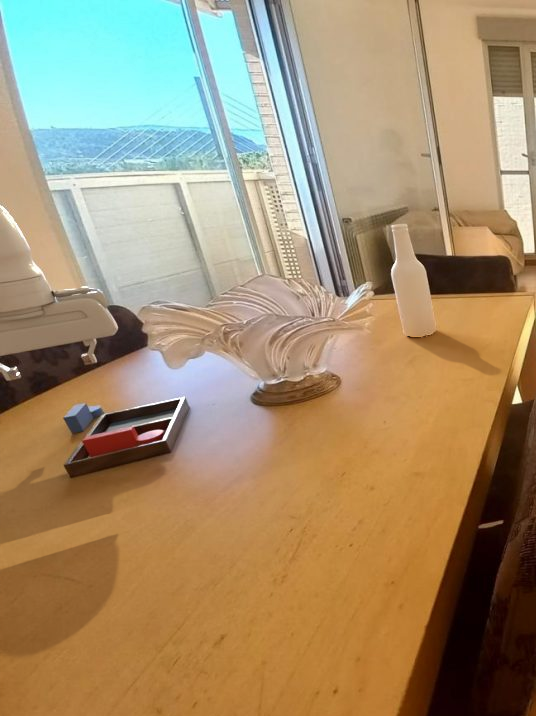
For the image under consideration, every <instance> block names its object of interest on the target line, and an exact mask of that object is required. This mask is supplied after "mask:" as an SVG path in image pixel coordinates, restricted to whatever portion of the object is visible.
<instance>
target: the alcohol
mask: <svg viewBox="0 0 536 716" xmlns="http://www.w3.org/2000/svg"><path fill="white" fill-rule="evenodd" d="M408 226H409V225H408V224H407V223H396V224H392V225H391V226H390V228H391V233H392V237H393V243H394V251H395V252H394V253H395V262H394V264H393V265H392V267H391V272H390V276H391V281H392V285H393V290H394V294H395V300H396V304H397V309H398V313H399V318H400V323H401V327H402V332H403V335H405V336H406V335H407V336H422V335H427V334H430V333H432V332H434V331H435V332H436V331H437V323H436V318H435V312H434V307H433V301H432V296H431V290H430V285H429V280H428V275H427V270H426V268H425V266H424V265H423V264H422V263H421V262H420V261H419V260H418V259H417V257H416V254H415V252H414V247H413V244H412V240H411V236H410V233H409V232H410V231H409V228H408ZM407 336H406V337H407Z"/></svg>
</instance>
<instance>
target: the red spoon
mask: <svg viewBox="0 0 536 716" xmlns="http://www.w3.org/2000/svg"><path fill="white" fill-rule="evenodd" d="M164 435H165V433H164V431H163V430H153V431H149V432H146V433H143V434H141V435H139V436H138V434H137V432H136V430H135V428H134V426H131V427H126V428H122V429H117V430H113V431H109V432H104V433H100V434H95V435H91V436H86V435H85V436H86V437H85V436H84V437H83V439H82V440H81V441H82V442H83V444H84V446H85V448H86V449H87V451H88V453H89V455H90V457H94V456H98V455H102V454H106V453H110V452H115V451H119V450H123V449H127V448H131V447H135V446H140V445H144V444H148V443H152V442H156V441H160V440H162V439H163V437H164Z"/></svg>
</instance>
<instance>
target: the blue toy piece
mask: <svg viewBox="0 0 536 716" xmlns="http://www.w3.org/2000/svg"><path fill="white" fill-rule="evenodd" d="M102 414H105V413H104V410H103V408H102V406H101V405H89V406H88V404H87V403H86V402H83V403H79V404H74V405H73V406H72V407H71V409H69V411H68V412H67V413H66V414H65V415H64V416H63V417H62V418H63V420H64V423H65V424H66V426H67V427H68V430H69V431H70V433H71V434H77V433H81V432H85V430H86V429H87V428H88V427H89V425H90V424H91V423H92V421H93V420H94V419H96V418H99V417H100V416H101V415H102Z"/></svg>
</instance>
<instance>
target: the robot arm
mask: <svg viewBox="0 0 536 716" xmlns="http://www.w3.org/2000/svg"><path fill="white" fill-rule="evenodd" d="M109 304H110V303H109V300H108V298H107V296H106V295H105V293H104V292H103V291H101V290H100V289H98V288H90V287H89V286H81V287H78V288H77V287H76V288H69V289H67V288H66V289H57V290H52V288H51V286H50V283H49V282H48V280H47V278H46V277H45V274H44V272H43V271H42V270H41V269H40V268H39V267H38V265H37V264H35V262H34V260H33V257H32V249H31V247H30V245H29V243H28V241H27V239H26V237H25V236H24V234H23V232H22V231H21V229H20V227H19V226H18V224H17V223H16V222H15V220H14V218H13V217H12V215H10V213H9V212H8V211H7V210H6V209H5V208H4V207H3V206H2V205H1V204H0V357H2V356H8V355H13V354H18V353H24V352H29V351H36V350H40V349H45V348H52V347H57V346H63V345H67V344H68V345H69V344H73V343H80V342H82V343H83V345H84V346H85V347H89V348H88V350H87V352H86V353H81V356H80V358H81V360H82V361H83V364H84V365H93V364H97V362H98V360H97V358H96V356H95V354H94V353H95V350H96V346H97V342H98V341H97V339H101V338H106V337H111V336H115V334H117V332H118V330H119V326H118V323H117V322H116V320H115V318H114V316H113V315H112V313H111V312H110V310H109V308H108V307H109ZM0 373H1V374H2V376H3V377H4V379H5V380H6V381H7V382H9V381H14V380H18V379H21V378H22V374H21V372H19V369H18V367H17V366H14V367H8V366H6V365H4V364H3V363H1V362H0Z"/></svg>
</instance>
